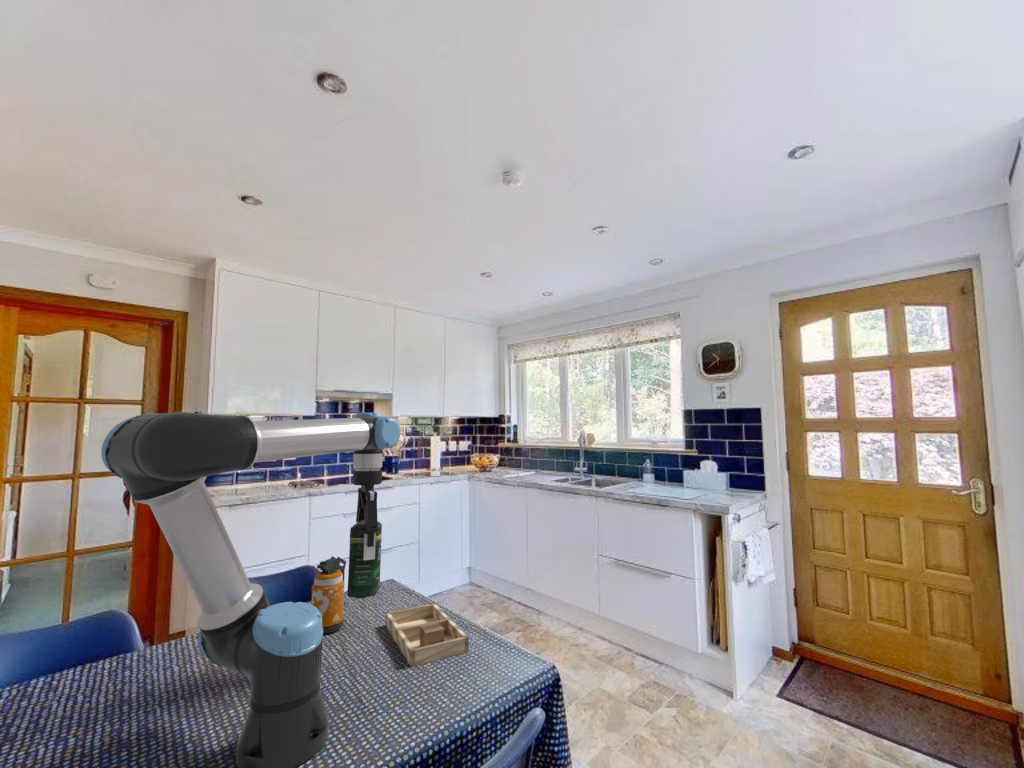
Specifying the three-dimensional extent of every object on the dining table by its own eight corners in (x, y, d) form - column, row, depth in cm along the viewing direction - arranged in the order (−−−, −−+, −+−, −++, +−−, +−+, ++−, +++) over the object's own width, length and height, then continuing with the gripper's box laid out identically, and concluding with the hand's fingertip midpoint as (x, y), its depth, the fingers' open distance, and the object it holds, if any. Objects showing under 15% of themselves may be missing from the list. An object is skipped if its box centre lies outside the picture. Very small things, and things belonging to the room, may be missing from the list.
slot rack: (468, 655, 113) (468, 637, 114) (410, 670, 106) (411, 651, 107) (434, 617, 137) (434, 603, 137) (385, 628, 130) (386, 612, 130)
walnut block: (444, 649, 115) (444, 628, 116) (425, 653, 113) (425, 633, 113) (437, 641, 119) (437, 621, 120) (419, 645, 117) (419, 625, 118)
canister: (303, 633, 127) (305, 561, 129) (329, 618, 137) (331, 552, 140) (329, 637, 124) (331, 563, 127) (353, 621, 135) (355, 553, 137)
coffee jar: (376, 599, 112) (379, 523, 114) (344, 600, 111) (347, 524, 113) (382, 586, 121) (384, 516, 123) (352, 587, 120) (354, 517, 122)
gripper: (391, 471, 112) (389, 562, 109) (373, 466, 131) (371, 544, 129) (360, 472, 108) (357, 567, 106) (347, 467, 128) (344, 547, 125)
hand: (365, 554), depth 117 cm, fingers closed on coffee jar, 10 cm apart
